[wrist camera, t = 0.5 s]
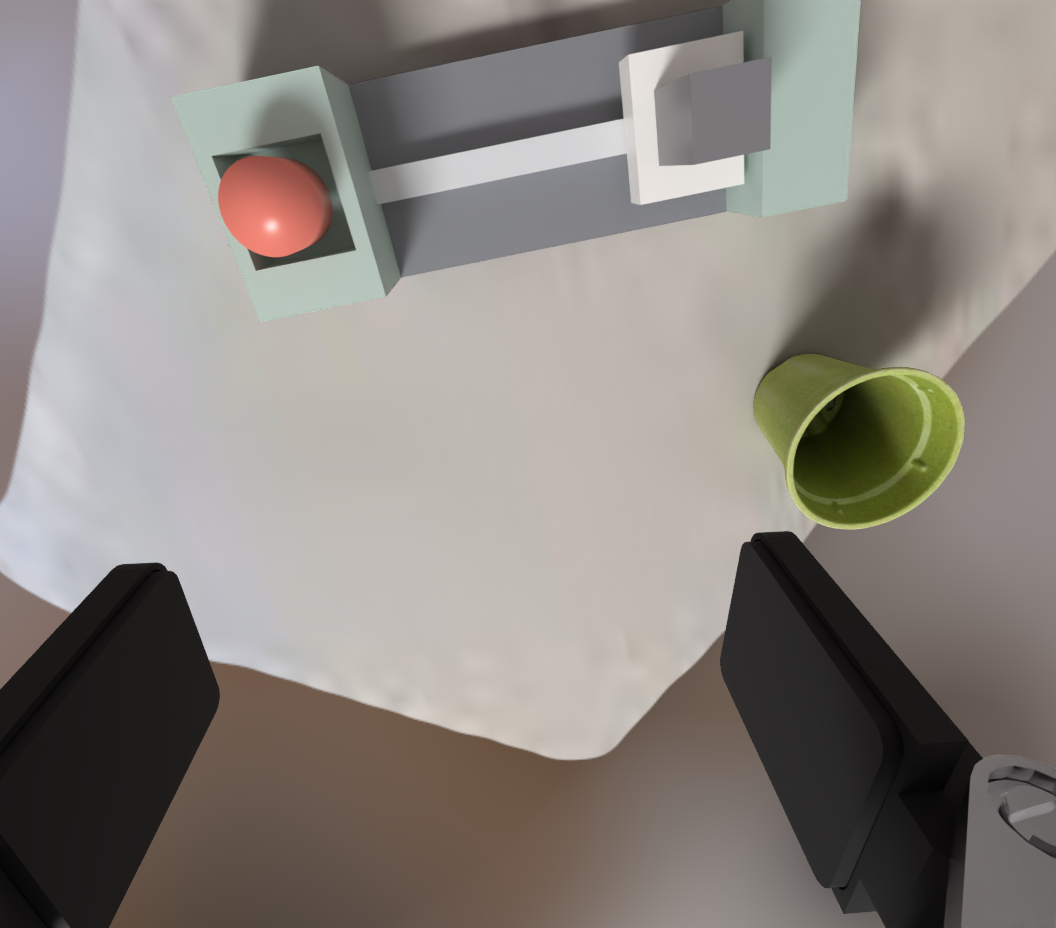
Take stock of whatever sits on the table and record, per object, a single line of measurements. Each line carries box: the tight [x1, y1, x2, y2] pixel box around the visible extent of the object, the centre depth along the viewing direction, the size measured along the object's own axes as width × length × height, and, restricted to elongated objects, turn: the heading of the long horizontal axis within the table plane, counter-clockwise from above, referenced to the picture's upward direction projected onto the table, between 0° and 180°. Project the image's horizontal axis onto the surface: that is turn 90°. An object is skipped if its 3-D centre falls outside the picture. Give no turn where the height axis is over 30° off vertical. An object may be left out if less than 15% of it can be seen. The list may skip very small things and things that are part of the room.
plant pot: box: [754, 354, 965, 529], centre depth 34 cm, size 9×9×9 cm
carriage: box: [619, 31, 772, 205], centre depth 25 cm, size 5×6×7 cm
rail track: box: [170, 0, 861, 322], centre depth 27 cm, size 28×9×7 cm, turn 100°
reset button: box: [218, 156, 333, 257], centre depth 24 cm, size 4×4×3 cm
